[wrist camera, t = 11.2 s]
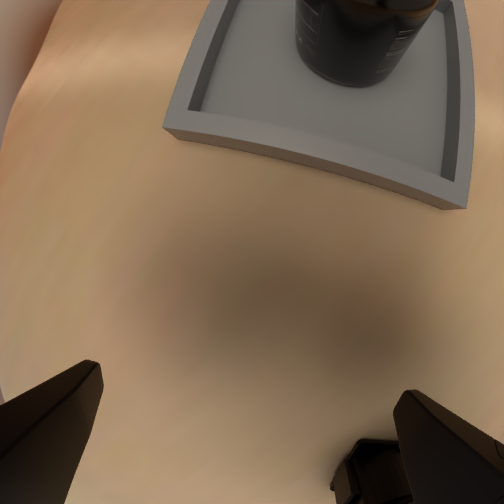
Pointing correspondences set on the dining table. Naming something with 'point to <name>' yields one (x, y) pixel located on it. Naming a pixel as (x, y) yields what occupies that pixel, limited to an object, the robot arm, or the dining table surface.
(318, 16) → the supplement bottle
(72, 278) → the dining table surface
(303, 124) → the tray
